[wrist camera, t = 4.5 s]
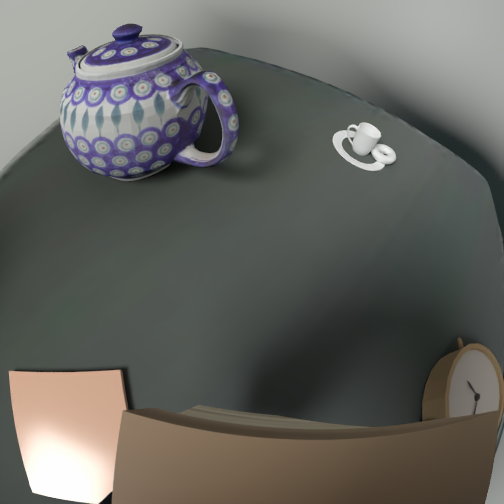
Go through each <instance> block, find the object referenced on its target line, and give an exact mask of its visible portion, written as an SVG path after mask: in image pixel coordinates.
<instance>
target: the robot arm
mask: <svg viewBox="0 0 504 504" xmlns="http://www.w3.org/2000/svg"><path fill="white" fill-rule="evenodd" d="M99 504H112V492H110V493H109V494H108V495H107V496H106V497H105V498H104V499H103V500H102V501H101V502H100V503H99Z"/></svg>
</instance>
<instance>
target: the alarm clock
mask: <svg viewBox="0 0 504 504" xmlns="http://www.w3.org/2000/svg"><path fill="white" fill-rule="evenodd" d="M457 344H458V348H459V350H457V351H454V352H451V353H449V354H447V355H446V356H444V357H442V358H441V359H440V360H439V361H438V362H437V363H436V365H435V366H434V367H433V368H432V370H431V372H430V375H429V377H428V380H427V382H426V384H425V390H424V395H423V400H422V420H423V421H428V420H434V419H441V418H451V417H460V416H467V415H474V414H480V413H486V412H492V411H497V410H499V419H498V427H499V424H500V420H501V417H502V414H503V408H504V381H503V377H502V373H501V369H500V366H499V364H498V362H497V360H496V358H495V356H494V355H493V354H492V353H491V351H490V350H489V349H488V348H487V347H485V346H483V345H481V344H479V343H475V344H468V345H467V346H465V347H464V346H463V342H462V340H461V338H458V339H457Z"/></svg>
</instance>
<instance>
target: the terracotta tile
mask: <svg viewBox="0 0 504 504" xmlns="http://www.w3.org/2000/svg"><path fill="white" fill-rule="evenodd" d="M9 379H10V390H11V399H12V407H13V414H14V420H15V426H16V432H17V437H18V441H19V446H20V450H21V454H22V458H23V462H24V466H25V469H26V473H27V476H28V479H29V483H30V486H31V489H32V492H33V493H37V494H41V495H45V496H50V497H55V498H60V499H65V500H71V501H78V502H85V503H93V504H99V503H100V502H101V501H102V500H103V499H104V498H105V497H106V496H107V495H108V494H109V493H110V492H112V491H113V479H114V469H115V460H116V452H117V444H118V437H119V430H120V424H121V417H122V411H123V410H129V409H128V403H127V398H126V392H125V385H124V379H123V372H122V370H109V371H90V372H20V371H9Z"/></svg>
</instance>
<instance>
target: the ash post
mask: <svg viewBox="0 0 504 504" xmlns="http://www.w3.org/2000/svg"><path fill="white" fill-rule="evenodd" d="M498 419H499V410H497V411H492V412H486V413H480V414H474V415H467V416H460V417H451V418H441V419H434V420H428V421H422V422H416V423H409V424H401V425H393V426H383V427H363V426H350V425H339V424H330V423H322V422H315V421H308V420H301V419H295V418H289V417H283V416H278V415H267V414H257V413H248V412H240V411H233V410H226V409H219V408H213V407H207V406H202V405H197V406H195V407H192V408H190V409H188V410H185V411H183V412H181V413H178V414H177V413H173V412H169V411H164V410H160V409H156V408H146V409H136V410H123V411H122V417H121V424H120V430H119V437H118V444H117V452H116V460H115V469H114V479H113V491H112V504H485V500H486V496H487V492H488V488H489V484H490V479H491V474H492V469H493V463H494V457H495V450H496V441H497V432H498Z"/></svg>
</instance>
